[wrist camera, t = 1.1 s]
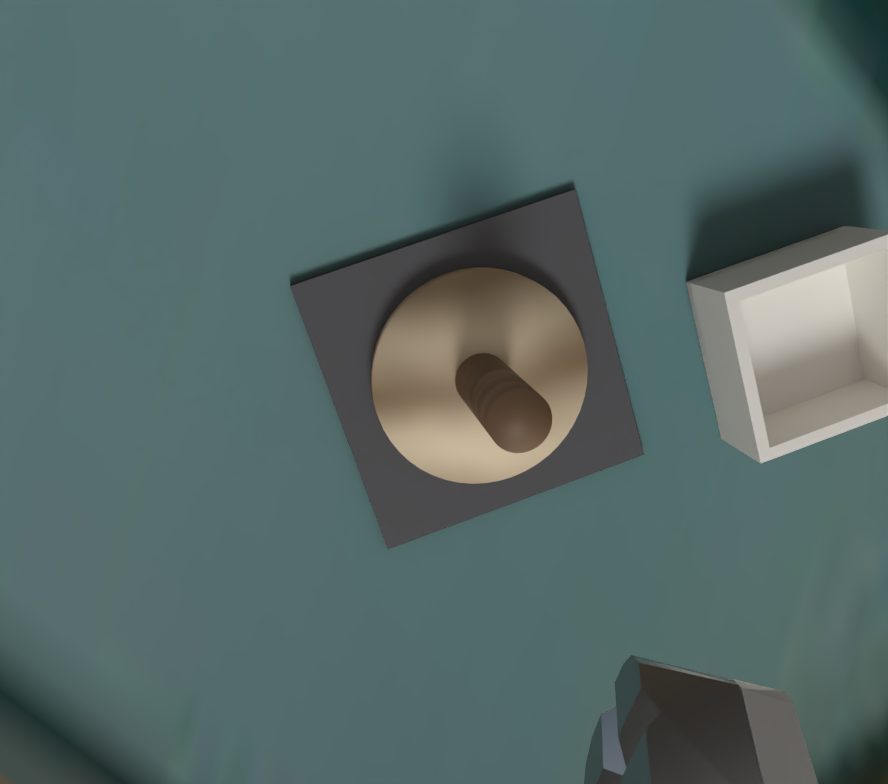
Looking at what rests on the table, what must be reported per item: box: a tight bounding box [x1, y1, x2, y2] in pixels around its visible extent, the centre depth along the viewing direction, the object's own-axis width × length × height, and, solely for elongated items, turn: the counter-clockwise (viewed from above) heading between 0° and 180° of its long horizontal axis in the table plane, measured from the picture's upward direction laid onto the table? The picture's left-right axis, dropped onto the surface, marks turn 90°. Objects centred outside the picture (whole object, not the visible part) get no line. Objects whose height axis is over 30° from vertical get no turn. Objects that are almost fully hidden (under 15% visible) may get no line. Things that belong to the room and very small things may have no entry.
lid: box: [371, 267, 588, 484], centre depth 43 cm, size 12×12×9 cm
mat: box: [290, 189, 644, 549], centre depth 47 cm, size 16×16×1 cm
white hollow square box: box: [686, 226, 888, 463], centre depth 48 cm, size 10×10×4 cm
